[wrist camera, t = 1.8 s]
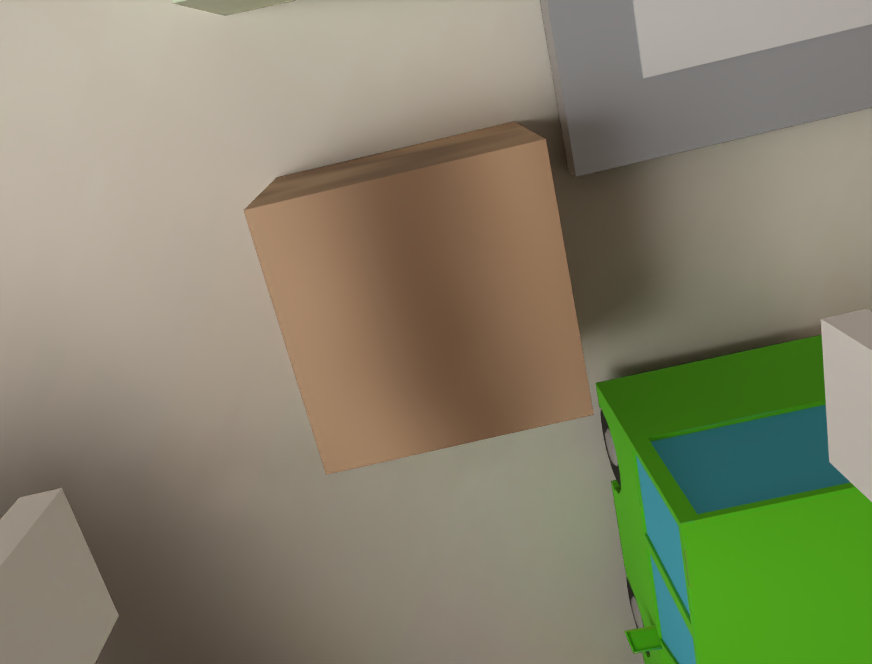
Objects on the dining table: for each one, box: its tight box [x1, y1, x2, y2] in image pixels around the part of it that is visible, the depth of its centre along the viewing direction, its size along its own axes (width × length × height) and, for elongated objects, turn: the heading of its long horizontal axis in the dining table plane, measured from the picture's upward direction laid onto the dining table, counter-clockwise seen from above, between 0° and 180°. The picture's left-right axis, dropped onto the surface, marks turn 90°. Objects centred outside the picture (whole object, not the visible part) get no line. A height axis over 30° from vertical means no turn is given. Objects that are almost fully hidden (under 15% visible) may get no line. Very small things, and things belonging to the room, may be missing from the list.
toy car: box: [596, 335, 872, 664], centre depth 26 cm, size 10×13×10 cm
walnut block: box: [244, 121, 594, 475], centre depth 24 cm, size 8×8×6 cm
